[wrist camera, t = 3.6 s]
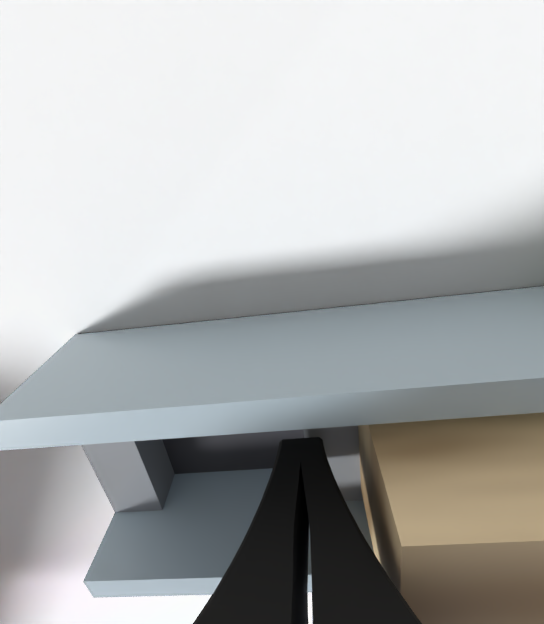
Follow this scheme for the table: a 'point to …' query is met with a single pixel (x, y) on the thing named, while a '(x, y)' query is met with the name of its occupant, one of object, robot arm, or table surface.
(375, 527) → the maple block
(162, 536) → the pale green block
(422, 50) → the table surface
